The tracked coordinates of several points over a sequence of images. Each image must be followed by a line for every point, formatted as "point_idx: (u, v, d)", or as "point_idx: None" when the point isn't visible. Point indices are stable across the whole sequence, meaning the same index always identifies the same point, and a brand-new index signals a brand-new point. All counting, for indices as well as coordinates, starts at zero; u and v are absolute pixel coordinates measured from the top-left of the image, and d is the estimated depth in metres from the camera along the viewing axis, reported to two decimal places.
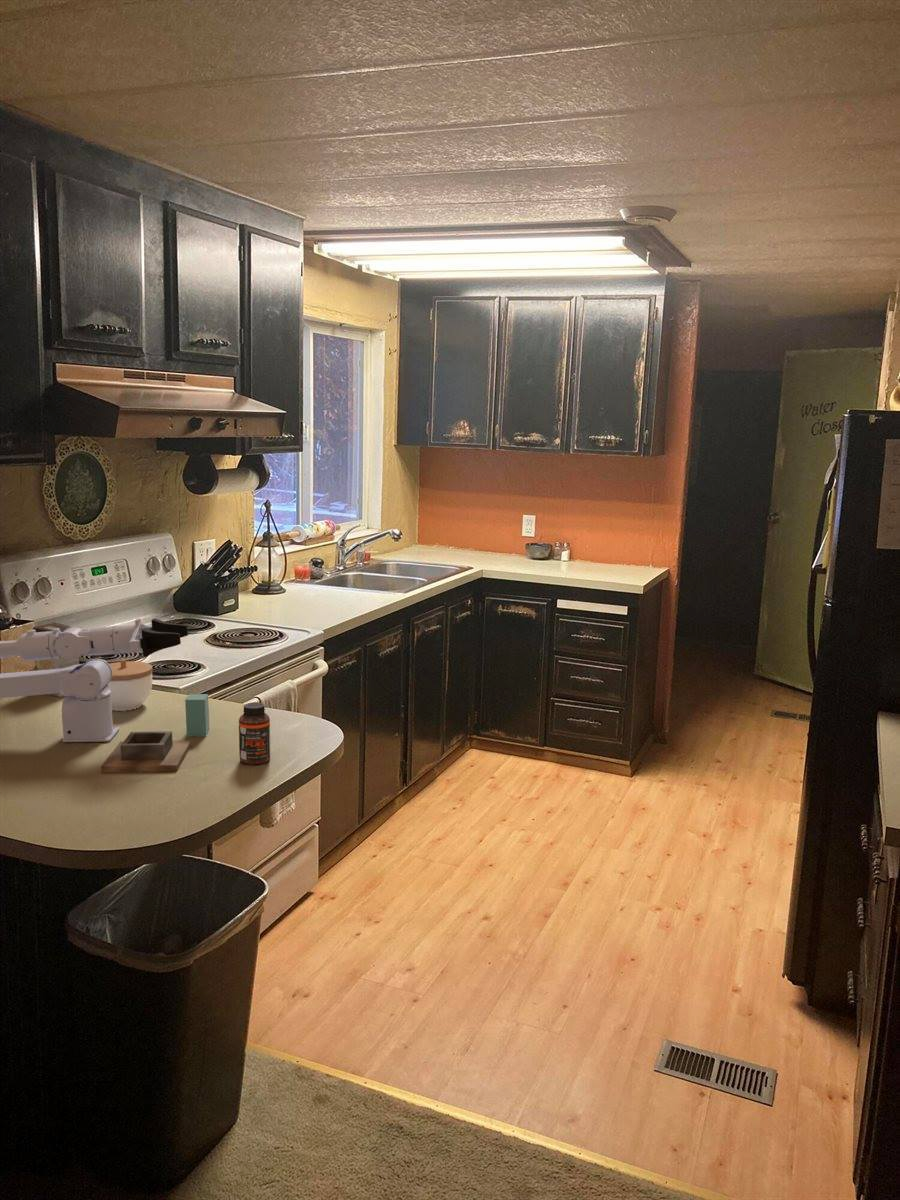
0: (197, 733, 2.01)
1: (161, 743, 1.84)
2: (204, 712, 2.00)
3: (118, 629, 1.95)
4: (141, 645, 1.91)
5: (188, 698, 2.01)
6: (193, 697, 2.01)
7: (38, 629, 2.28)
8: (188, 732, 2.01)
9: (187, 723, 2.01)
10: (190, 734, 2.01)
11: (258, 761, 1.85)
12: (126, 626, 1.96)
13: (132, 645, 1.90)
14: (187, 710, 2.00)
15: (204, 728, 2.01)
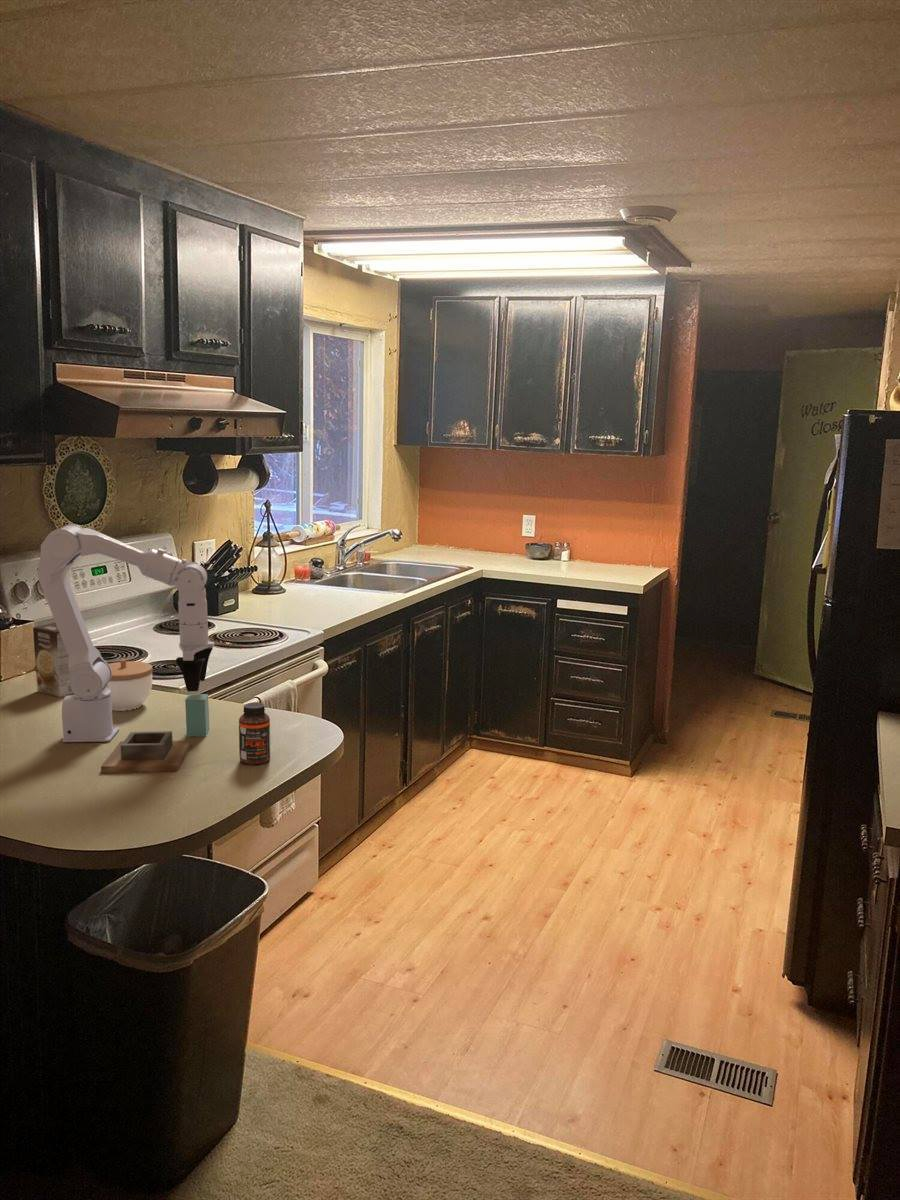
0: (197, 733, 2.01)
1: (161, 743, 1.84)
2: (204, 712, 2.00)
3: (204, 628, 1.98)
4: None
5: (188, 698, 2.01)
6: (193, 697, 2.01)
7: (38, 629, 2.28)
8: (188, 732, 2.01)
9: (187, 723, 2.01)
10: (190, 734, 2.01)
11: (258, 761, 1.85)
12: (206, 634, 1.99)
13: (188, 654, 1.92)
14: (187, 710, 2.00)
15: (204, 728, 2.01)
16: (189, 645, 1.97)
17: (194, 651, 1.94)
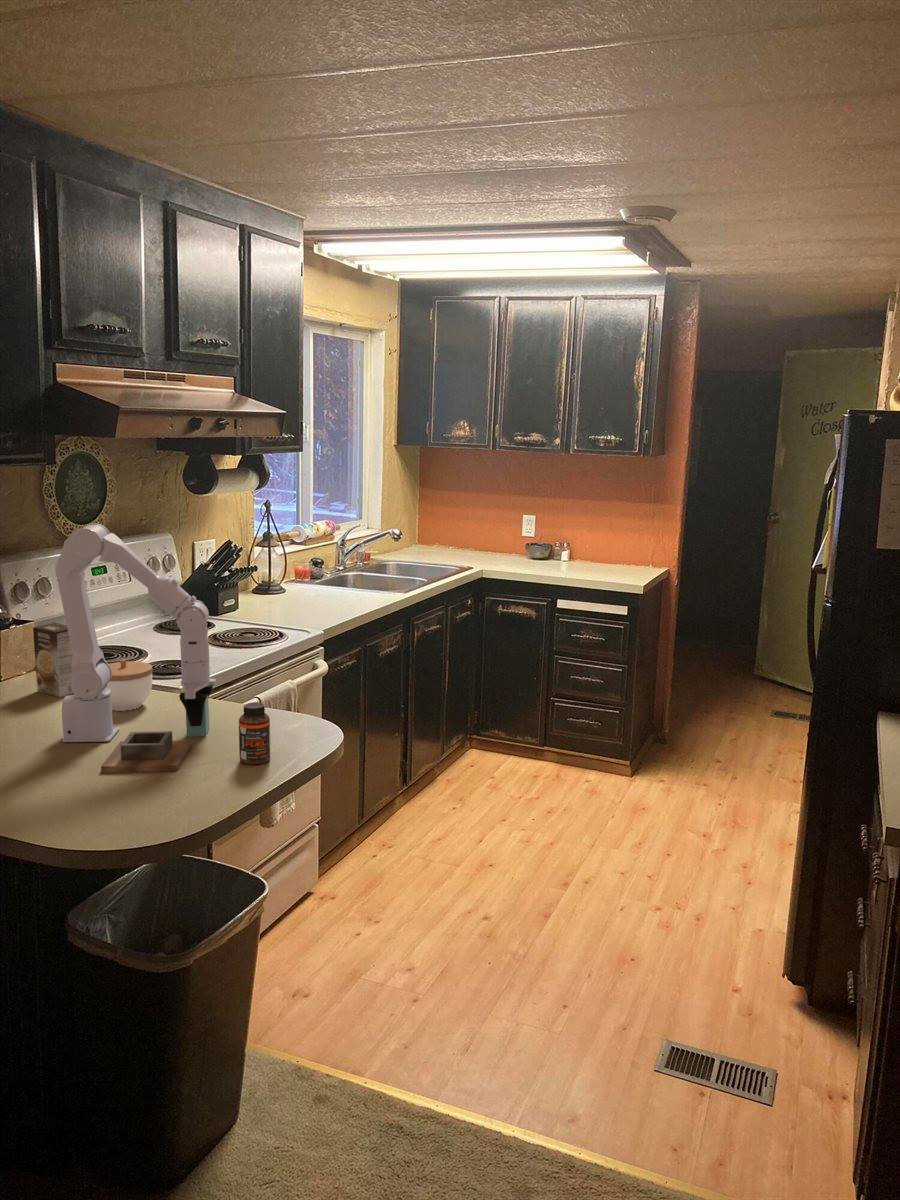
0: (197, 733, 2.01)
1: (161, 743, 1.84)
2: (204, 712, 2.00)
3: (206, 666, 1.99)
4: None
5: None
6: None
7: (38, 629, 2.28)
8: (188, 732, 2.01)
9: (187, 723, 2.01)
10: (190, 734, 2.01)
11: (258, 761, 1.85)
12: (208, 671, 2.00)
13: (190, 692, 1.94)
14: None
15: (204, 728, 2.01)
16: (191, 683, 1.98)
17: (196, 689, 1.95)
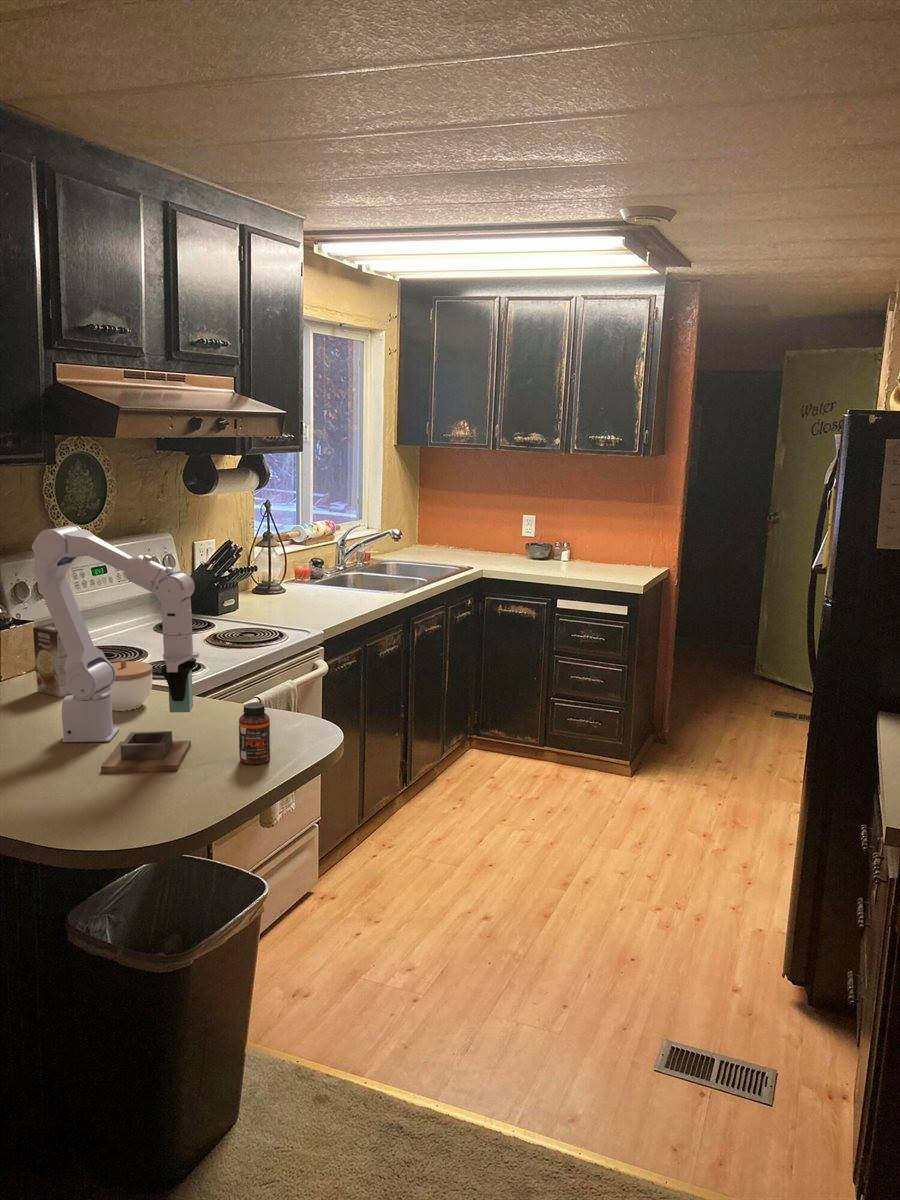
0: (180, 709, 1.95)
1: (161, 743, 1.84)
2: (187, 687, 1.94)
3: (188, 639, 1.93)
4: None
5: None
6: None
7: (38, 629, 2.28)
8: (171, 708, 1.95)
9: (170, 698, 1.94)
10: (173, 710, 1.95)
11: (258, 761, 1.85)
12: (191, 645, 1.94)
13: (172, 665, 1.88)
14: None
15: (187, 704, 1.95)
16: (173, 656, 1.92)
17: (178, 662, 1.89)
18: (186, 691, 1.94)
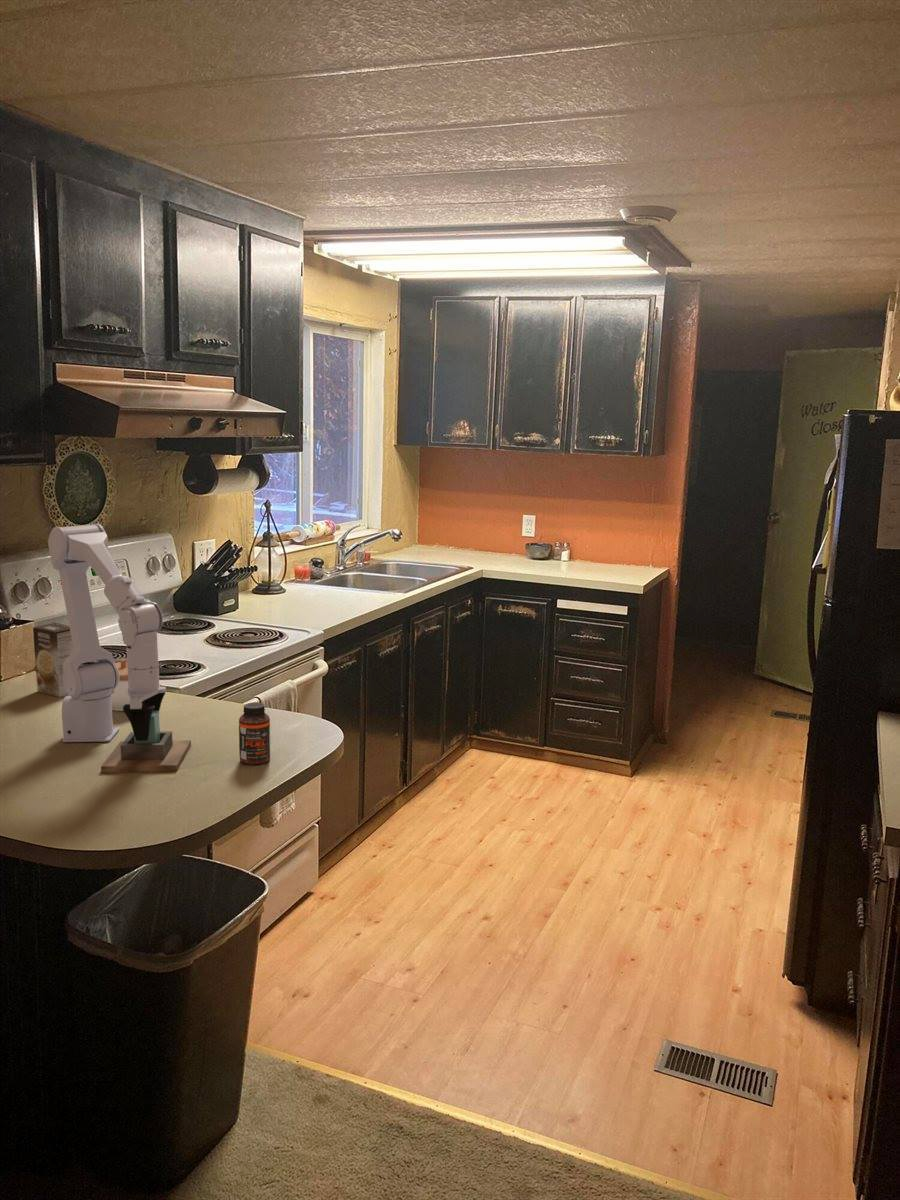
0: None
1: (161, 743, 1.84)
2: (154, 730, 1.85)
3: (154, 673, 1.83)
4: None
5: None
6: None
7: (38, 629, 2.28)
8: None
9: (135, 742, 1.85)
10: None
11: (258, 761, 1.85)
12: (157, 679, 1.85)
13: (136, 702, 1.78)
14: None
15: None
16: (138, 691, 1.82)
17: (142, 698, 1.79)
18: (152, 734, 1.85)
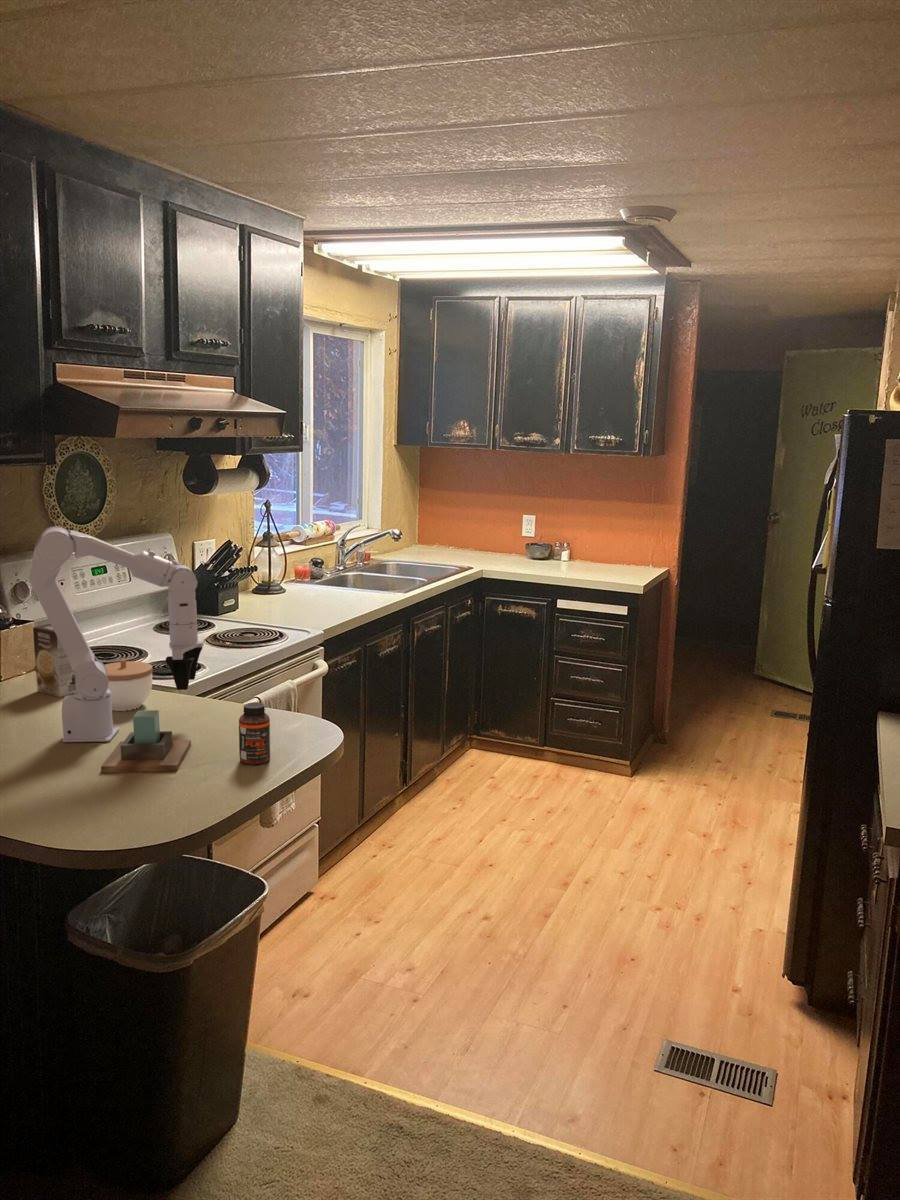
0: None
1: (161, 743, 1.84)
2: (154, 730, 1.85)
3: (193, 628, 2.02)
4: None
5: (136, 715, 1.85)
6: (141, 714, 1.86)
7: (38, 629, 2.28)
8: None
9: (135, 742, 1.85)
10: None
11: (258, 761, 1.85)
12: (196, 634, 2.03)
13: (177, 653, 1.97)
14: (135, 728, 1.85)
15: None
16: (179, 644, 2.01)
17: (183, 650, 1.98)
18: (152, 734, 1.85)
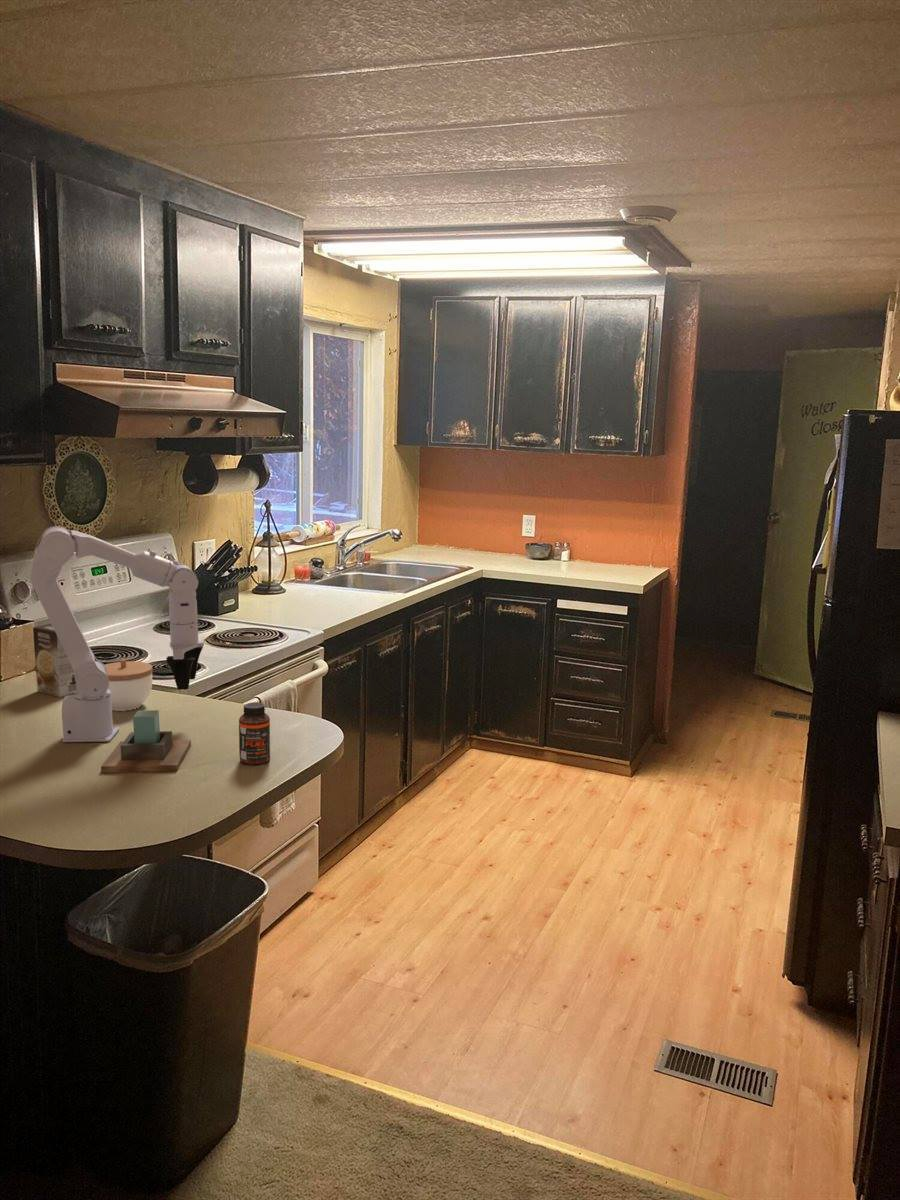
0: None
1: (161, 743, 1.84)
2: (154, 730, 1.85)
3: (194, 628, 2.02)
4: (178, 658, 1.99)
5: (136, 715, 1.85)
6: (141, 714, 1.86)
7: (38, 629, 2.28)
8: None
9: (135, 742, 1.85)
10: None
11: (258, 761, 1.85)
12: (196, 633, 2.04)
13: (178, 653, 1.97)
14: (135, 728, 1.85)
15: None
16: (179, 644, 2.01)
17: (184, 650, 1.99)
18: (152, 734, 1.85)
